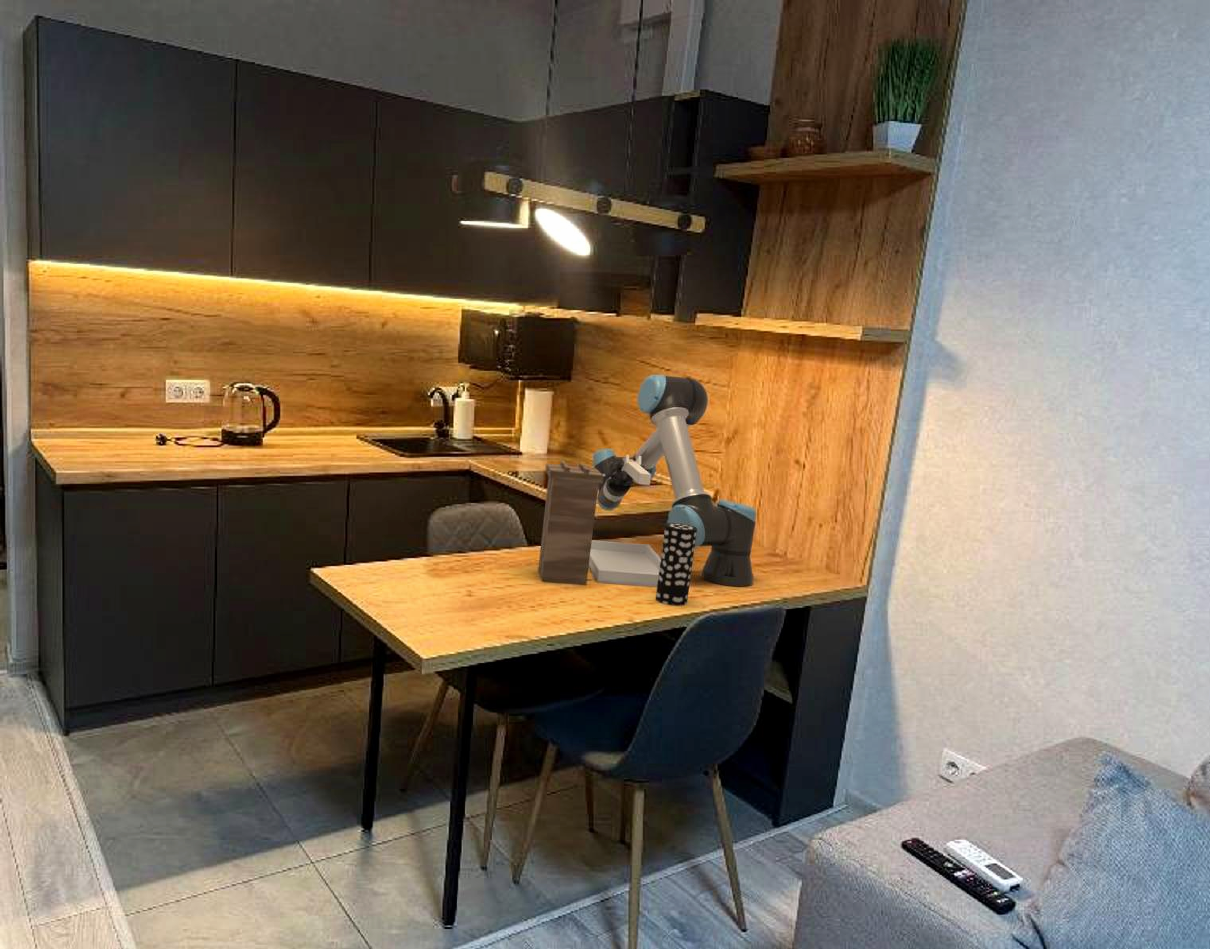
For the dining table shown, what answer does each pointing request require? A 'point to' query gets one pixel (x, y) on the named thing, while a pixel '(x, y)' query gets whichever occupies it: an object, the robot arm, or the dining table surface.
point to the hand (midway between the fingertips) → (633, 459)
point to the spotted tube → (676, 564)
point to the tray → (624, 563)
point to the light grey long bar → (638, 473)
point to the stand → (568, 523)
